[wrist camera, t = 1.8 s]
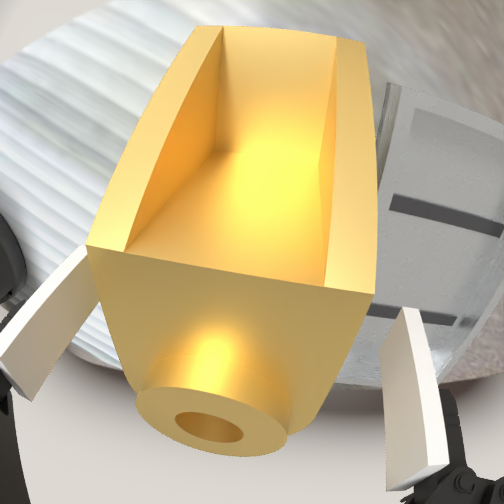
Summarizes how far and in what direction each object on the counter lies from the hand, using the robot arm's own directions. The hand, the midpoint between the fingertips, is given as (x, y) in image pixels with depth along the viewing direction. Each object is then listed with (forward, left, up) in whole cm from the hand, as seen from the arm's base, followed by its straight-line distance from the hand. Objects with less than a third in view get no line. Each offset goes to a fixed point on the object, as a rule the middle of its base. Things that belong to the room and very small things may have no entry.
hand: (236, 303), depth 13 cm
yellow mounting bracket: (0, +1, -13) cm, 13 cm away
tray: (+14, -4, -12) cm, 19 cm away
